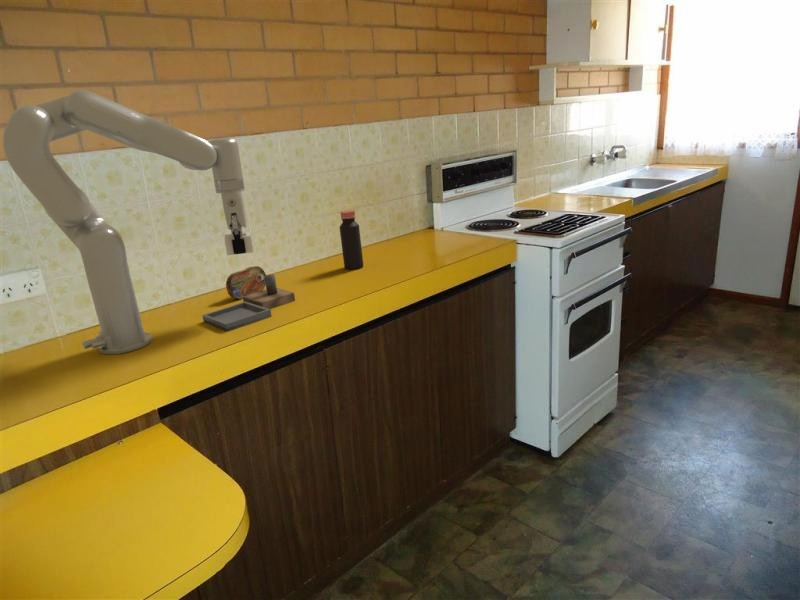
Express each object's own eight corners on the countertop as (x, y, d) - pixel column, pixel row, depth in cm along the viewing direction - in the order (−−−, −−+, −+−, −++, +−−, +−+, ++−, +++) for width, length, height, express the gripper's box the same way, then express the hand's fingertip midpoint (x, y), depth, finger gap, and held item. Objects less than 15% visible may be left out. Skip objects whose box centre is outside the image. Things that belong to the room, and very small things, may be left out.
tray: (227, 331, 150) (225, 324, 150) (203, 321, 160) (202, 315, 159) (271, 316, 159) (270, 309, 159) (246, 307, 169) (245, 301, 168)
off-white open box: (253, 252, 157) (250, 235, 155) (227, 255, 155) (224, 239, 154) (252, 247, 163) (250, 231, 162) (227, 250, 162) (225, 234, 160)
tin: (234, 302, 176) (229, 276, 173) (227, 301, 177) (222, 275, 175) (268, 288, 187) (264, 263, 185) (261, 287, 189) (257, 262, 187)
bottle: (352, 271, 199) (345, 213, 193) (340, 268, 204) (333, 212, 198) (367, 266, 203) (361, 210, 197) (356, 264, 208) (349, 209, 202)
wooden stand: (263, 311, 164) (258, 284, 162) (243, 304, 172) (239, 279, 170) (295, 300, 172) (291, 274, 169) (275, 294, 179) (271, 270, 177)
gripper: (244, 187, 147) (254, 255, 152) (243, 182, 163) (253, 243, 168) (214, 190, 145) (225, 259, 150) (216, 184, 161) (226, 247, 166)
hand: (239, 250), depth 159 cm, fingers closed on off-white open box, 6 cm apart
